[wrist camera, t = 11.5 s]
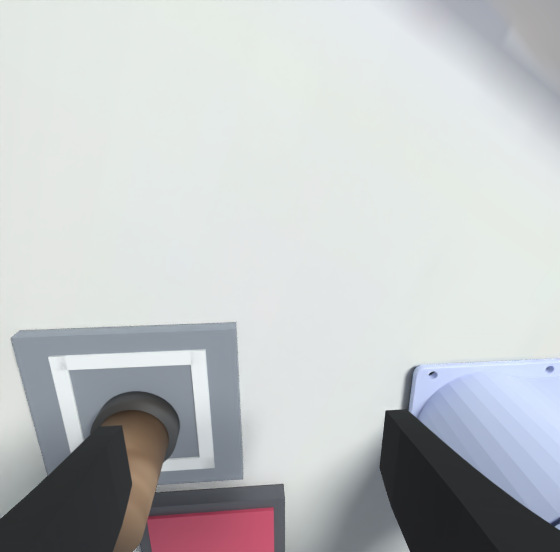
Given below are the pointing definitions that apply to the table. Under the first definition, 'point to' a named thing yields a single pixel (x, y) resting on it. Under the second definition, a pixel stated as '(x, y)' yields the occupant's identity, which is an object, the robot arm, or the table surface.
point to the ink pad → (217, 520)
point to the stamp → (141, 453)
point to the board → (138, 389)
